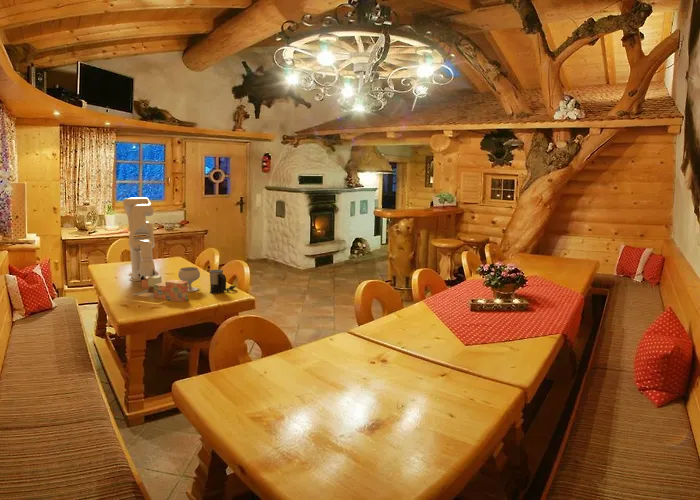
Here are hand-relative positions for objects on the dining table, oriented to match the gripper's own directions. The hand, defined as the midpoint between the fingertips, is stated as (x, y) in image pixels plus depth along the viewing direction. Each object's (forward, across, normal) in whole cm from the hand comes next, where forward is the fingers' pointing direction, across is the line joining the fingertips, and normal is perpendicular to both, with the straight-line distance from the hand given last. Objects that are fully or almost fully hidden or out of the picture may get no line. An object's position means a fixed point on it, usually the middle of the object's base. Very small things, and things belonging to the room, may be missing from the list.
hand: (148, 283), depth 342 cm
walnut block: (+2, +12, -8) cm, 15 cm away
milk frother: (+4, +51, +13) cm, 53 cm away
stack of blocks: (+4, +32, -16) cm, 36 cm away
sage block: (-2, +12, -8) cm, 15 cm away
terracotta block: (+3, -1, 0) cm, 3 cm away
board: (+3, +12, -12) cm, 17 cm away
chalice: (+4, +29, +6) cm, 30 cm away
